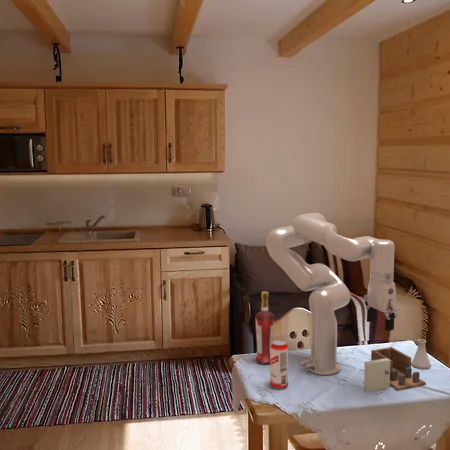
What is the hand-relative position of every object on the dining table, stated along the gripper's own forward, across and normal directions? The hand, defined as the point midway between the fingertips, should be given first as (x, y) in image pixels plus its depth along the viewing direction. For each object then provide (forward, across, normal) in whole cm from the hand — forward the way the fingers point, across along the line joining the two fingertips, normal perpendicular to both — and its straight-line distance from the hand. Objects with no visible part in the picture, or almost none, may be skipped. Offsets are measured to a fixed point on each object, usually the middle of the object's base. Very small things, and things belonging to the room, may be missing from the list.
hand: (379, 325), depth 173 cm
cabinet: (+22, +5, -11) cm, 26 cm away
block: (+23, 0, 0) cm, 23 cm away
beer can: (+23, +15, +31) cm, 41 cm away
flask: (+23, +9, -27) cm, 37 cm away
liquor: (+23, +36, +26) cm, 50 cm away
